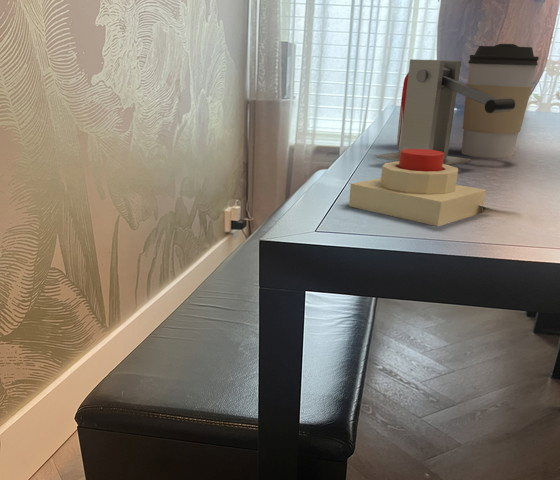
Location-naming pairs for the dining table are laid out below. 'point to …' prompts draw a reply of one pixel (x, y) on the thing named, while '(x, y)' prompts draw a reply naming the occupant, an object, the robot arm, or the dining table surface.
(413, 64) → the bracket
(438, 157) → the button
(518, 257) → the dining table surface
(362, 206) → the button block
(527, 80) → the coffee cup
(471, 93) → the lever
